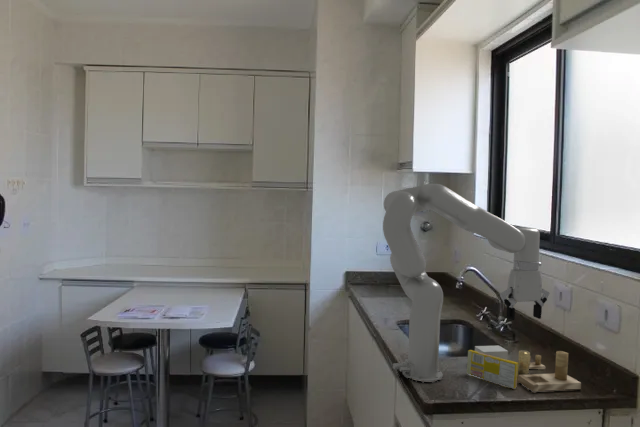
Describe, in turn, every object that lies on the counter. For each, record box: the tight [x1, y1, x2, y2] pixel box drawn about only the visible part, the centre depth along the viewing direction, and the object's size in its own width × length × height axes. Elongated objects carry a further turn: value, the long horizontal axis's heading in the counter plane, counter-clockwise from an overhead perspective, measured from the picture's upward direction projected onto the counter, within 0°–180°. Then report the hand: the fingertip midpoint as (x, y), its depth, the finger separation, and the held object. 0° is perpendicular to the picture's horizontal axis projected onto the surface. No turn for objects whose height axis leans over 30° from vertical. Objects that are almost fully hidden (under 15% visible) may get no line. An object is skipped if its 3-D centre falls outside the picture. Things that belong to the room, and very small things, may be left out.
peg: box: [517, 349, 531, 375], centre depth 165 cm, size 3×3×8 cm
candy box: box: [466, 349, 518, 388], centre depth 159 cm, size 16×2×8 cm, turn 44°
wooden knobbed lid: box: [529, 354, 546, 370], centre depth 173 cm, size 7×4×4 cm, turn 101°
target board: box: [517, 350, 582, 391], centre depth 156 cm, size 16×8×10 cm, turn 101°
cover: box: [474, 345, 509, 360], centre depth 174 cm, size 9×6×6 cm, turn 101°
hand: (523, 318), depth 165 cm, fingers open, 9 cm apart
